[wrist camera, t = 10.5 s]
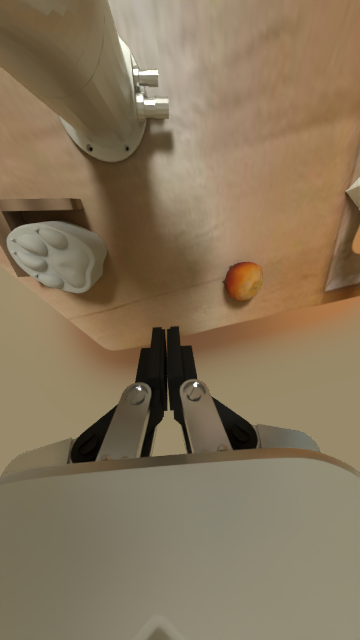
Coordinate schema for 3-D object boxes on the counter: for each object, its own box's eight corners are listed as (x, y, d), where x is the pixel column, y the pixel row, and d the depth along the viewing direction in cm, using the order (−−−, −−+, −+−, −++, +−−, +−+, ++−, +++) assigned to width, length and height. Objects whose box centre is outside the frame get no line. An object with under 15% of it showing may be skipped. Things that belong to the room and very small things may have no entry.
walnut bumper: (80, 199, 30) (69, 198, 27) (98, 267, 37) (92, 274, 34) (-3, 200, 30) (-24, 199, 27) (31, 270, 36) (17, 276, 33)
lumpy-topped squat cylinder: (100, 285, 39) (85, 302, 32) (34, 262, 36) (0, 276, 28) (110, 238, 34) (94, 247, 27) (34, 206, 31) (-6, 206, 24)
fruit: (220, 255, 36) (253, 268, 31) (244, 256, 40) (275, 267, 35) (210, 291, 40) (237, 308, 35) (232, 288, 45) (259, 303, 39)
